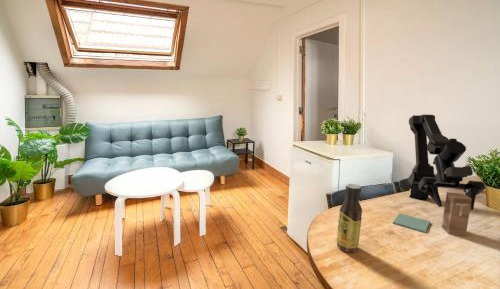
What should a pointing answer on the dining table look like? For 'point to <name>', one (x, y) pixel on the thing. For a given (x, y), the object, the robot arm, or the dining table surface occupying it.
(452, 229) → the letter block
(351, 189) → the sauce bottle
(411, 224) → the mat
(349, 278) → the dining table surface
